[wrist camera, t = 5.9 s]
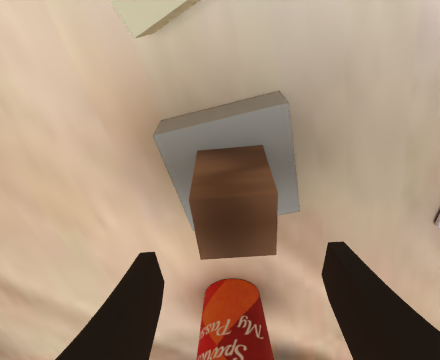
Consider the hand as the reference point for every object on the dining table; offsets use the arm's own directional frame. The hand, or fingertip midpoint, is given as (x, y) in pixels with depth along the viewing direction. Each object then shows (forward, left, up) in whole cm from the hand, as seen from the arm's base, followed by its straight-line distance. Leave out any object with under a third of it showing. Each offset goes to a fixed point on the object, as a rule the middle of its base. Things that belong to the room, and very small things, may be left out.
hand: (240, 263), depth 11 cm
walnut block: (0, 0, -7) cm, 7 cm away
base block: (0, 0, -10) cm, 10 cm away
